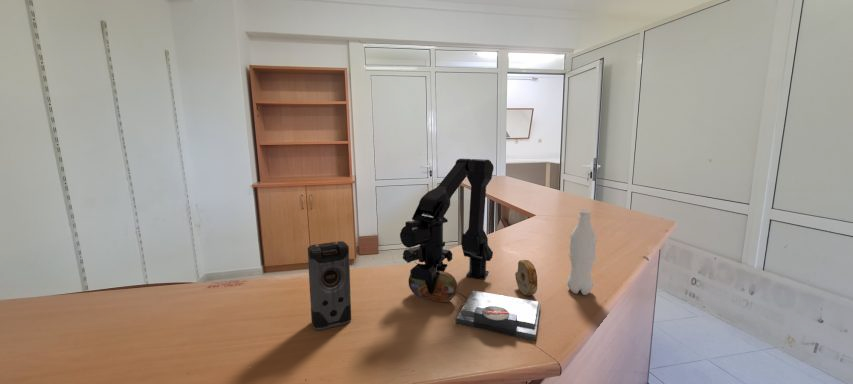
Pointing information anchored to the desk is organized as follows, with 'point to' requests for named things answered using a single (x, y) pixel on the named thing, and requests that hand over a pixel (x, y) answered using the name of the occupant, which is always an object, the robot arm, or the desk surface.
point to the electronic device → (329, 284)
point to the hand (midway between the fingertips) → (432, 291)
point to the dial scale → (500, 314)
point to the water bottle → (582, 254)
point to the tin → (442, 291)
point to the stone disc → (526, 277)
